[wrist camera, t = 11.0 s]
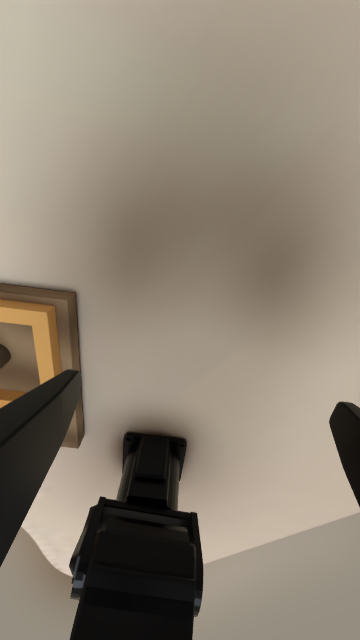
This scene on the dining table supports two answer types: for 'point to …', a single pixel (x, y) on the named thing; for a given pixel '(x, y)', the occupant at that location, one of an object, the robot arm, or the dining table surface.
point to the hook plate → (19, 349)
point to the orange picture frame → (43, 334)
